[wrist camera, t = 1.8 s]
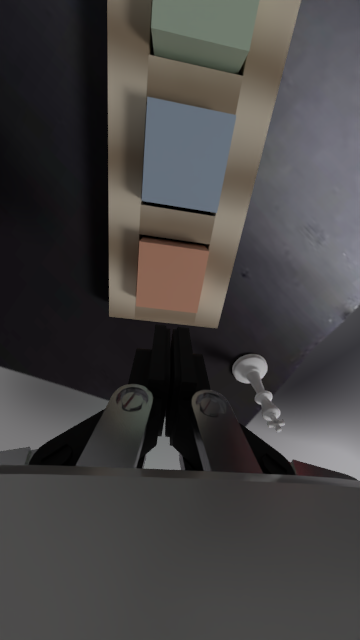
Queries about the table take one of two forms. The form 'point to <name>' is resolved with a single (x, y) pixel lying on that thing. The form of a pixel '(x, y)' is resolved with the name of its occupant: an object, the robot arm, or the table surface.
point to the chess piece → (258, 386)
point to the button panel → (129, 142)
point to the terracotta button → (170, 274)
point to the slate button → (185, 154)
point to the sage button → (204, 31)
